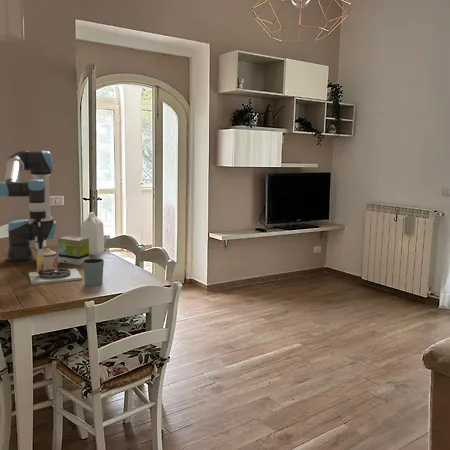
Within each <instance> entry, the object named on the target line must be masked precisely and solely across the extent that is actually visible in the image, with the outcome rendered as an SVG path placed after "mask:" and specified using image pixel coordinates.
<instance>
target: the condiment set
mask: <svg viewBox="0 0 450 450" xmlns="http://www.w3.org/2000/svg"><path fill="white" fill-rule="evenodd" d="M57 253H58V252H56V251H54V250H51V249H50V248H45V250H44V255H43V264H44V270H48V269H58V263H57V262H58V259H57V255H58V254H57Z"/></svg>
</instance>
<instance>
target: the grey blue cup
mask: <svg viewBox="0 0 450 450" xmlns="http://www.w3.org/2000/svg"><path fill="white" fill-rule="evenodd" d="M104 263H105V261H104V259H103V258H97V257H93V258H92V257H91V258H90V257H89V259H85V260H83V264H82V268H83V277H84V285H85V286H87V287H98V286H102V284H103V283H104V282H103V281H104V280H103V279H104V265H105V264H104Z"/></svg>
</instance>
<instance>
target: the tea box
mask: <svg viewBox="0 0 450 450" xmlns="http://www.w3.org/2000/svg"><path fill="white" fill-rule="evenodd" d="M57 247H58V248H57V249H58V250H57V253H58V254H57V255H58V262H59V263H63V264H68V265H75V266H81V265H83V260H85V259H90V255H89V238H84V237H81V236H74V235H67V236H63V237H58V238H57Z"/></svg>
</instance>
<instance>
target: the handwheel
mask: <svg viewBox="0 0 450 450" xmlns="http://www.w3.org/2000/svg"><path fill="white" fill-rule="evenodd" d="M35 255H36V272H37V273H38V274H39V277H42V278H61V277H66V276H68V275H70V273H71V271H70V270H68V269H69V268H57V269H48V270H44V264H43V255H38V252H37V253H36V254H35ZM60 271H63V272H60ZM49 275H51V276H49Z"/></svg>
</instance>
